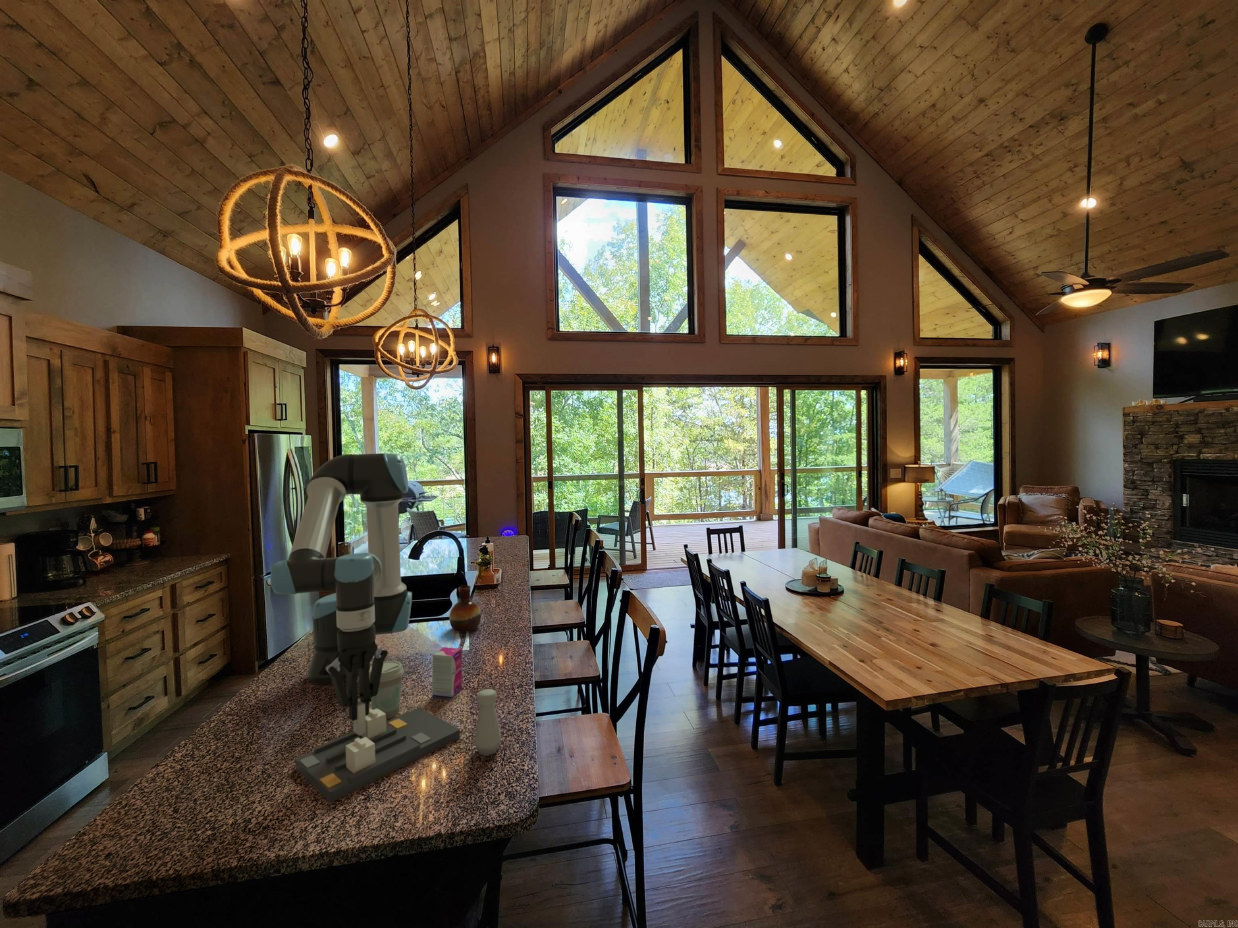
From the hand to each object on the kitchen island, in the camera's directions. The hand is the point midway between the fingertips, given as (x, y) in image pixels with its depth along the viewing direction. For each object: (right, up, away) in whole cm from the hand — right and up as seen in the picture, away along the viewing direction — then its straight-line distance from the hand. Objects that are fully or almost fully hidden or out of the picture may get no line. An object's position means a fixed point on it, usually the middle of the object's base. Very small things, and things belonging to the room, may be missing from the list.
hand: (359, 731), depth 117 cm
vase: (+1, -1, +78) cm, 78 cm away
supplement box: (+11, -3, +27) cm, 29 cm away
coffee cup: (-1, -4, +16) cm, 16 cm away
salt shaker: (+28, -4, -1) cm, 29 cm away
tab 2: (+5, -2, -10) cm, 11 cm away
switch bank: (+5, -4, -1) cm, 7 cm away
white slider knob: (+2, -2, +2) cm, 3 cm away
